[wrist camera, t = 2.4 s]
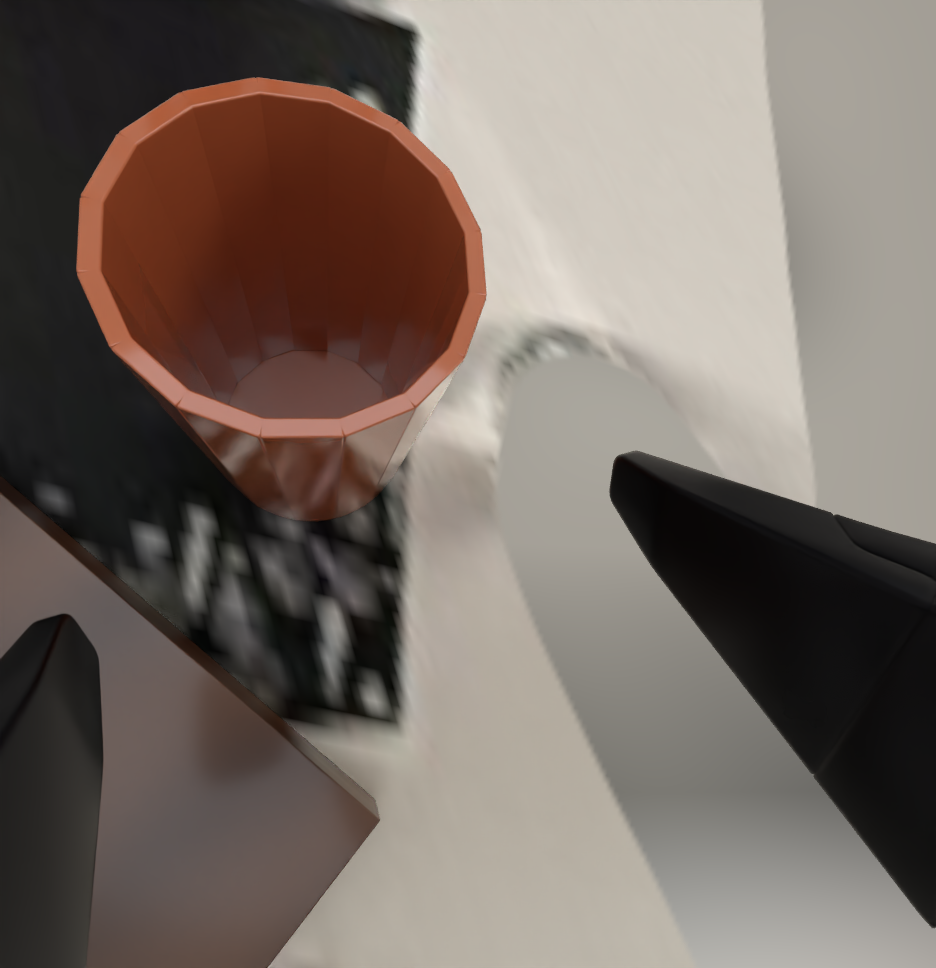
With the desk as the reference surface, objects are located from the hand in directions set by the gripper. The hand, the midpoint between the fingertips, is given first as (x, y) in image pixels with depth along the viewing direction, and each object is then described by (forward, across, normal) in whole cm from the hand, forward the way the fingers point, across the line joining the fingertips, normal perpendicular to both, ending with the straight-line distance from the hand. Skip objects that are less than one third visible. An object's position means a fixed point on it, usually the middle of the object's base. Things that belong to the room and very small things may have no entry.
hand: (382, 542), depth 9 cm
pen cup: (+12, 0, +5) cm, 13 cm away
